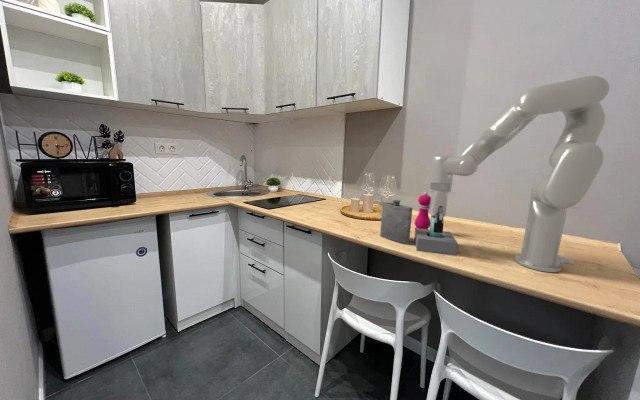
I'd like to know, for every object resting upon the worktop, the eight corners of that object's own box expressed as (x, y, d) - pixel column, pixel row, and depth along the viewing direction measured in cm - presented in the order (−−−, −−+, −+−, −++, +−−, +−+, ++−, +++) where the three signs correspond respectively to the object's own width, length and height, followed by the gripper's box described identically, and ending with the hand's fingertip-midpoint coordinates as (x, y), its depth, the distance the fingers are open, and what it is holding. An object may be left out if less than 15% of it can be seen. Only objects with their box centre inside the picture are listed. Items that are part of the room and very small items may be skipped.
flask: (405, 245, 105) (409, 203, 101) (377, 236, 115) (380, 197, 112) (410, 243, 107) (414, 202, 103) (382, 234, 118) (385, 196, 114)
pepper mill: (426, 230, 126) (431, 190, 122) (431, 235, 119) (436, 193, 115) (412, 229, 127) (415, 190, 123) (415, 234, 120) (420, 192, 116)
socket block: (448, 243, 109) (450, 231, 108) (455, 255, 96) (457, 242, 95) (414, 239, 113) (415, 228, 112) (416, 250, 99) (417, 238, 99)
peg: (438, 245, 105) (441, 213, 103) (439, 249, 102) (443, 215, 99) (427, 244, 107) (431, 212, 104) (428, 247, 103) (432, 214, 100)
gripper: (427, 184, 109) (424, 222, 112) (433, 189, 92) (428, 234, 95) (446, 185, 106) (442, 224, 110) (455, 190, 90) (450, 236, 93)
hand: (436, 228), depth 103 cm, fingers open, 9 cm apart
